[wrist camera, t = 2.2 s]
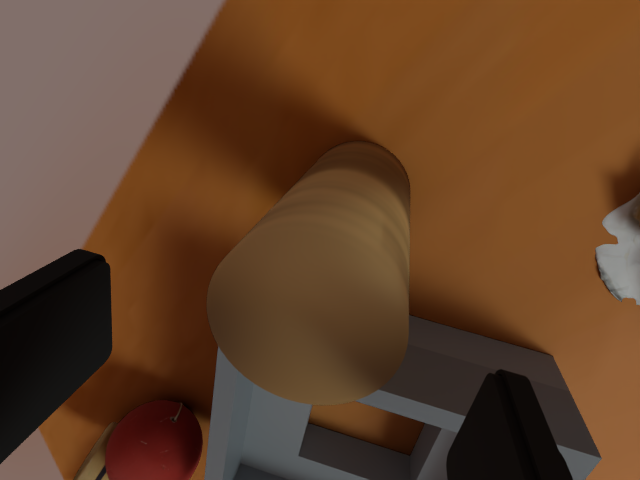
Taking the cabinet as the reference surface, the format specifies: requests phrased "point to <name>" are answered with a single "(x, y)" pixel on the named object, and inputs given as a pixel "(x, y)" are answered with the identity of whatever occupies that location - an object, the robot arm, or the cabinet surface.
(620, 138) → the cabinet surface
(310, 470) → the peg box
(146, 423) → the kendama
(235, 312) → the peg
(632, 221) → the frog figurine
